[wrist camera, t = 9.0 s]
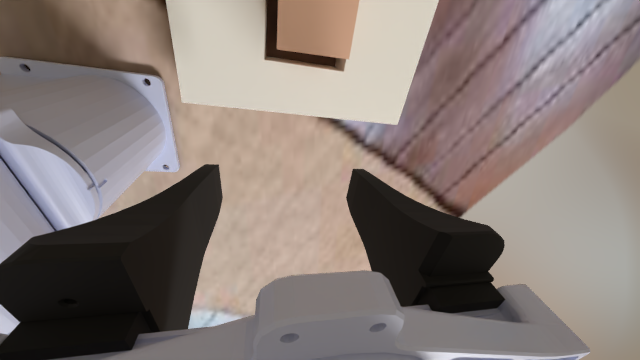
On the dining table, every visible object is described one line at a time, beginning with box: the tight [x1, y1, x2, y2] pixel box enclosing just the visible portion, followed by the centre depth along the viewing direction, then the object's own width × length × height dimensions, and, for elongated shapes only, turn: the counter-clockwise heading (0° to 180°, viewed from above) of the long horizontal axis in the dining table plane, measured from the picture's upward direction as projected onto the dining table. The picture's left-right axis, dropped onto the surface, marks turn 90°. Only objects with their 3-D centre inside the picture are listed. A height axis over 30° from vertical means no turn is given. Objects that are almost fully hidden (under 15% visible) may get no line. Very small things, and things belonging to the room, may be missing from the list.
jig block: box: [166, 0, 439, 125], centre depth 15 cm, size 16×12×3 cm
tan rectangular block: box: [277, 0, 359, 59], centre depth 14 cm, size 4×4×6 cm
